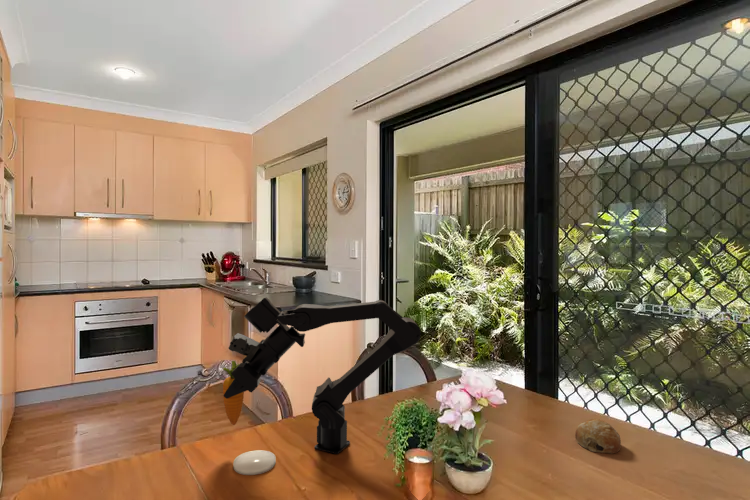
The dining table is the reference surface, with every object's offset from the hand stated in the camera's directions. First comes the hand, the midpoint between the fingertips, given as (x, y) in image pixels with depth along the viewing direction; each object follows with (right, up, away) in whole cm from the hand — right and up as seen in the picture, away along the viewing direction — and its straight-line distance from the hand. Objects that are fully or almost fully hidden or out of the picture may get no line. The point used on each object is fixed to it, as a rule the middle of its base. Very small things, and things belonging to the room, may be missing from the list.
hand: (227, 393), depth 105 cm
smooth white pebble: (+8, -13, -7) cm, 17 cm away
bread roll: (+90, -14, +4) cm, 91 cm away
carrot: (+1, -8, 0) cm, 8 cm away
